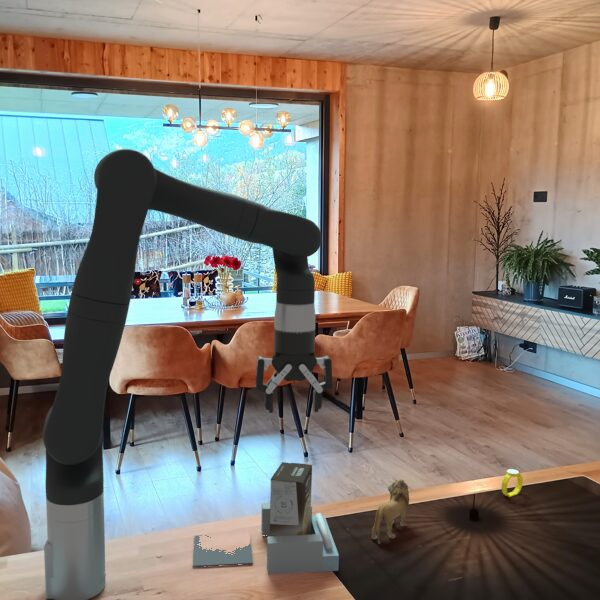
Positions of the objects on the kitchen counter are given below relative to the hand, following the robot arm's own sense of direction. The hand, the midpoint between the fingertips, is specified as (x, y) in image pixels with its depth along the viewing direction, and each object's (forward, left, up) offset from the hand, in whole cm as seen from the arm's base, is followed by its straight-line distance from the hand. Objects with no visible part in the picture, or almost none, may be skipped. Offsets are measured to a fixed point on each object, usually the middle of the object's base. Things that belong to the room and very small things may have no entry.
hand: (293, 411), depth 122 cm
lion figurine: (+22, +7, -28) cm, 36 cm away
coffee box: (0, 0, -28) cm, 28 cm away
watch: (+55, +20, -28) cm, 65 cm away
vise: (+1, 0, -28) cm, 28 cm away
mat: (-13, +1, -28) cm, 31 cm away
